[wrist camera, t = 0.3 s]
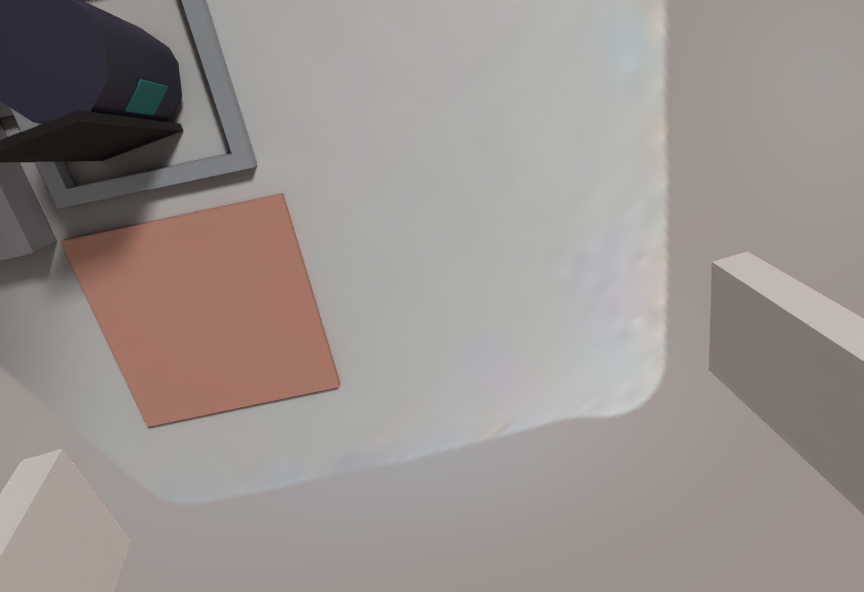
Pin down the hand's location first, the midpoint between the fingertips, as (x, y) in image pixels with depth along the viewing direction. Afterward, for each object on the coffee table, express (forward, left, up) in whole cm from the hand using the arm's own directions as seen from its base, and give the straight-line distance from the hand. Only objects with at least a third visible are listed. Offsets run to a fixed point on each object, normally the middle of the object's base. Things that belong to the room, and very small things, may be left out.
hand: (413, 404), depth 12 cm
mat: (+7, -14, -26) cm, 30 cm away
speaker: (-8, -14, -26) cm, 31 cm away
